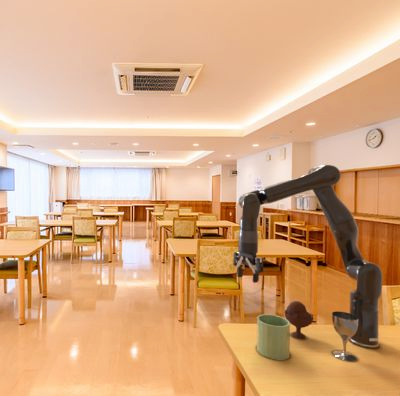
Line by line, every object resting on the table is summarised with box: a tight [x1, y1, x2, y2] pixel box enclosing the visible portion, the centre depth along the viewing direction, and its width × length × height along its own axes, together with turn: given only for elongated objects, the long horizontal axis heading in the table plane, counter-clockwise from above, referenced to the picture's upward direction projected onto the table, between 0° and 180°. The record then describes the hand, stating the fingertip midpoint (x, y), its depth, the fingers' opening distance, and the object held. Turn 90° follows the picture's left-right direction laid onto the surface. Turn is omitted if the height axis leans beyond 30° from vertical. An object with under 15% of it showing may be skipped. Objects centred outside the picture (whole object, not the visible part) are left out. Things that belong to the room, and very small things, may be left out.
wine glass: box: [331, 310, 358, 362], centre depth 107 cm, size 8×8×15 cm
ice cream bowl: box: [283, 300, 314, 340], centre depth 122 cm, size 11×11×15 cm
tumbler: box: [256, 313, 291, 361], centre depth 110 cm, size 11×11×12 cm
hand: (247, 279), depth 121 cm, fingers open, 8 cm apart
